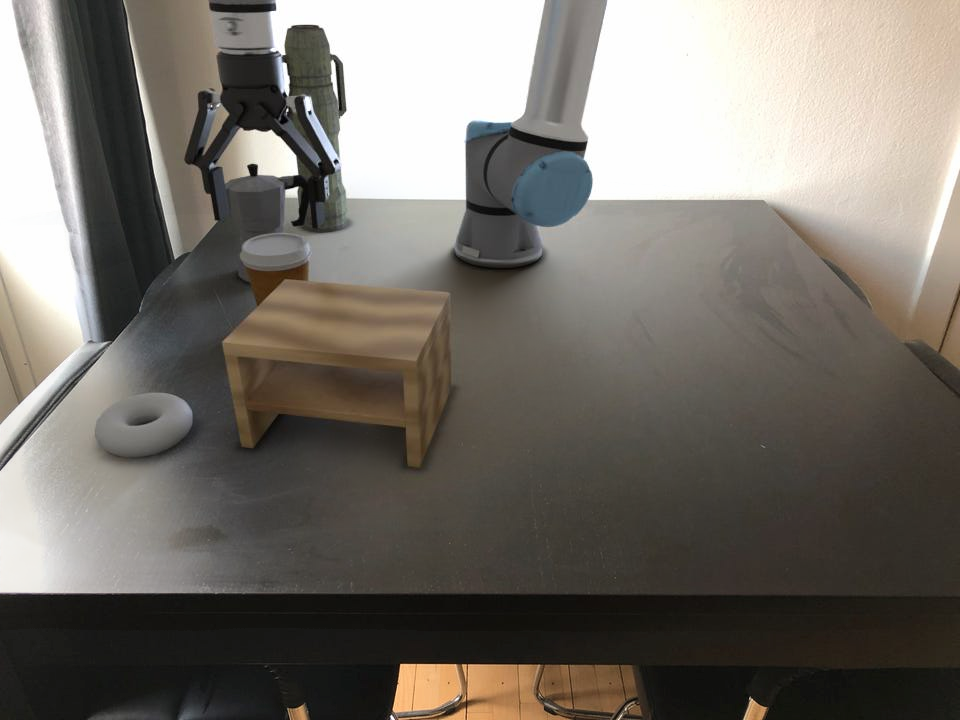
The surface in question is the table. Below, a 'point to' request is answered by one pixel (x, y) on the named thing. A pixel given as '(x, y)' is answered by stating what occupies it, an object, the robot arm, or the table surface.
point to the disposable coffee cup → (275, 261)
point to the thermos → (318, 108)
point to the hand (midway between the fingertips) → (270, 221)
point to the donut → (131, 440)
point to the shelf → (343, 359)
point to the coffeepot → (262, 205)
